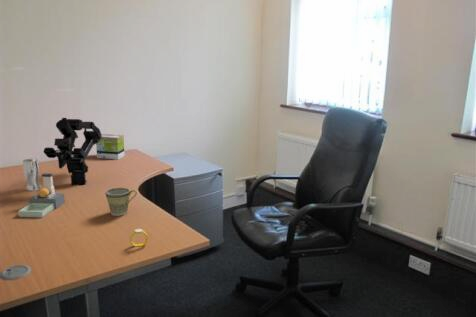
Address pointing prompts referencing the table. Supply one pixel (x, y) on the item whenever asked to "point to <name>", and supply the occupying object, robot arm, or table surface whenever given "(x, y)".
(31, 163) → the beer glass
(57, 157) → the robot arm
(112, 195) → the ceramic cup
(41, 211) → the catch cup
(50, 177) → the beige upright block
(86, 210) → the table surface
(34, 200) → the launcher deck
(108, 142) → the tea box
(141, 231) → the watch
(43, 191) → the ball
